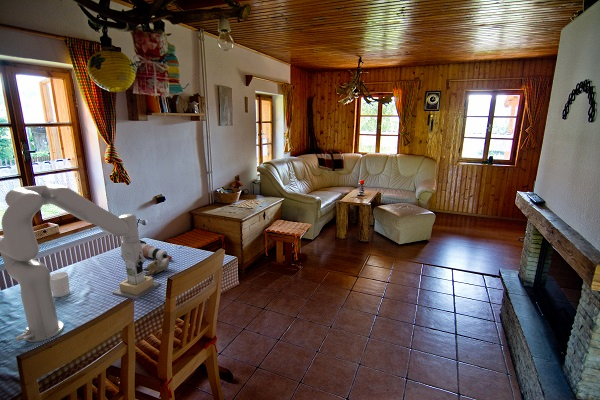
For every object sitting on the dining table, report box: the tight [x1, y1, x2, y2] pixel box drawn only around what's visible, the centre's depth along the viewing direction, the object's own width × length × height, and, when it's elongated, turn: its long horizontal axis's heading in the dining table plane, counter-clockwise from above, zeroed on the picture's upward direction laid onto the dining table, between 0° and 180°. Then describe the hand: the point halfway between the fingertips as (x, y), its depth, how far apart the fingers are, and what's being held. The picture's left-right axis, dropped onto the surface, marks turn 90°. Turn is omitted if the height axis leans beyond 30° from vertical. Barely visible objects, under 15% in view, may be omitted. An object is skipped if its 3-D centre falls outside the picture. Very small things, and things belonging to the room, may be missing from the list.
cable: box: [139, 239, 173, 261], centre depth 205 cm, size 10×34×10 cm, turn 70°
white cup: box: [50, 271, 71, 298], centre depth 162 cm, size 8×8×10 cm
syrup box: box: [124, 259, 145, 285], centre depth 165 cm, size 6×6×14 cm
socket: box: [111, 276, 162, 301], centre depth 167 cm, size 16×16×5 cm
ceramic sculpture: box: [143, 258, 170, 277], centre depth 185 cm, size 11×9×15 cm
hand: (135, 271), depth 165 cm, fingers closed on syrup box, 5 cm apart
